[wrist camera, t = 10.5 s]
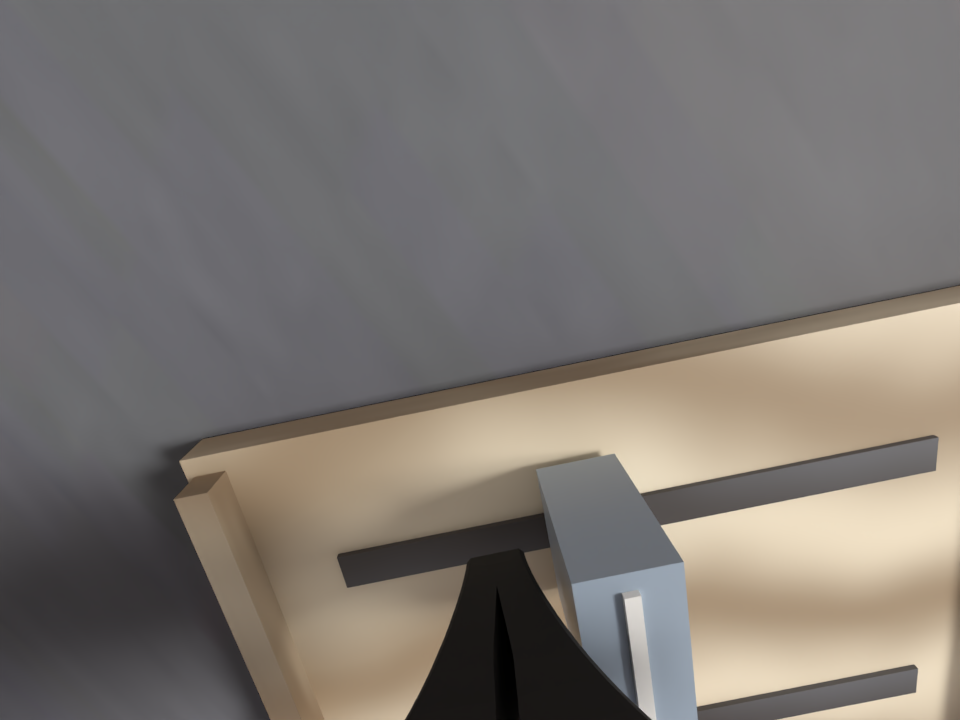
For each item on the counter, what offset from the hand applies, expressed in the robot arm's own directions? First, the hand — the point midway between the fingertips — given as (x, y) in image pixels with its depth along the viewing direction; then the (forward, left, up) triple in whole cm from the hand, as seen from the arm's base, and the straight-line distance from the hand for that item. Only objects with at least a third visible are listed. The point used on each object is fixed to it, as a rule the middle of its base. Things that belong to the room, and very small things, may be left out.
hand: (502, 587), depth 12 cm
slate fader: (0, -2, -1) cm, 3 cm away
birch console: (-4, -4, -3) cm, 6 cm away
